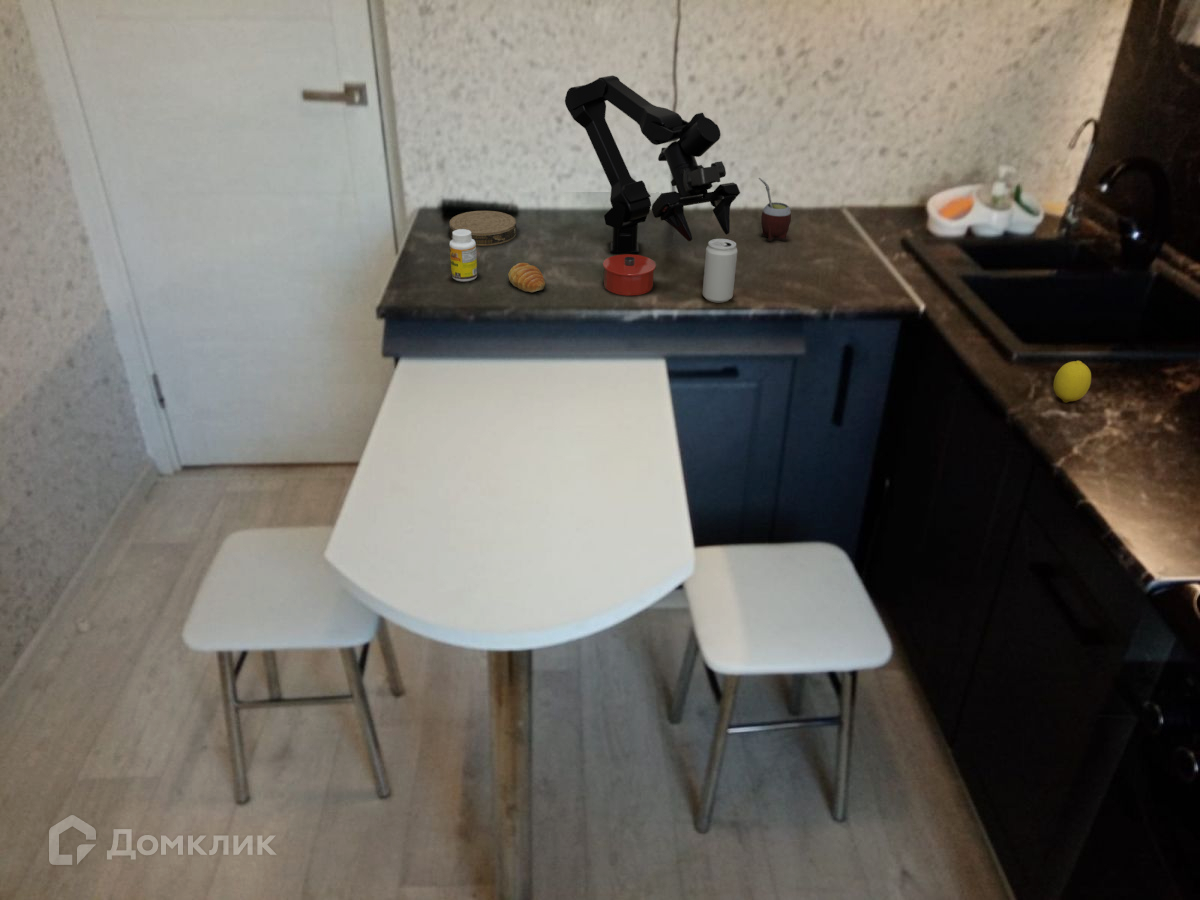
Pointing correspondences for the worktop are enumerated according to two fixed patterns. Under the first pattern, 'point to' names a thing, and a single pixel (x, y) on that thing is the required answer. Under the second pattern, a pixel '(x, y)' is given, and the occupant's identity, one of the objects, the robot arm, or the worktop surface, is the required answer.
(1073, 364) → the lemon
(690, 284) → the worktop surface
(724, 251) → the beverage can
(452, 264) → the supplement bottle
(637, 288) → the pot
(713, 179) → the robot arm
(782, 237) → the mate gourd
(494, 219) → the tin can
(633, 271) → the pot lid
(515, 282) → the pastry
